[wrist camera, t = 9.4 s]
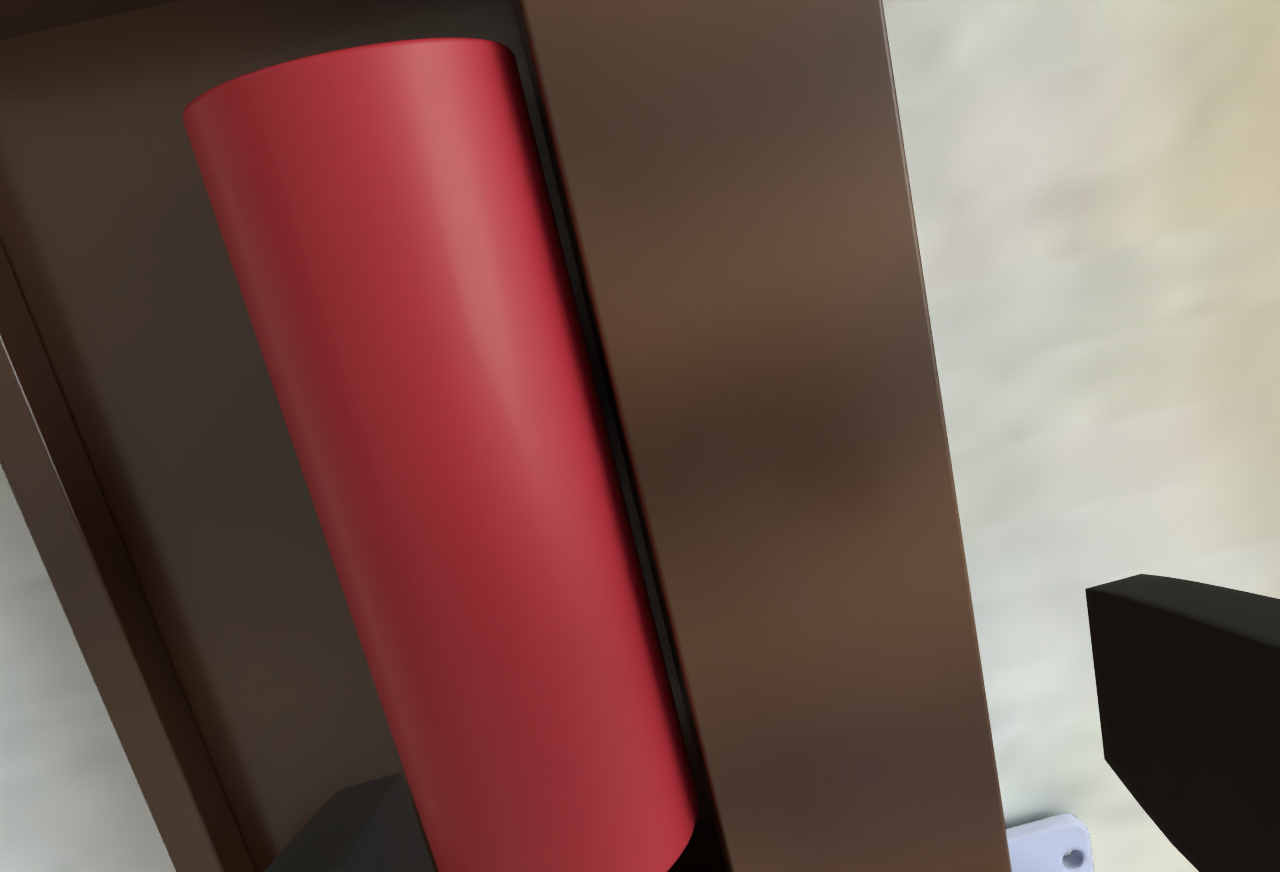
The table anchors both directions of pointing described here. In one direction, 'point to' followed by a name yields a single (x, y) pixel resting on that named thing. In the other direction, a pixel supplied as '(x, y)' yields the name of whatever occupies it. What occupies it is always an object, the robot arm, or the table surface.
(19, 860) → the table surface
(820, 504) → the dark wooden tray
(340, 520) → the red cylinder
